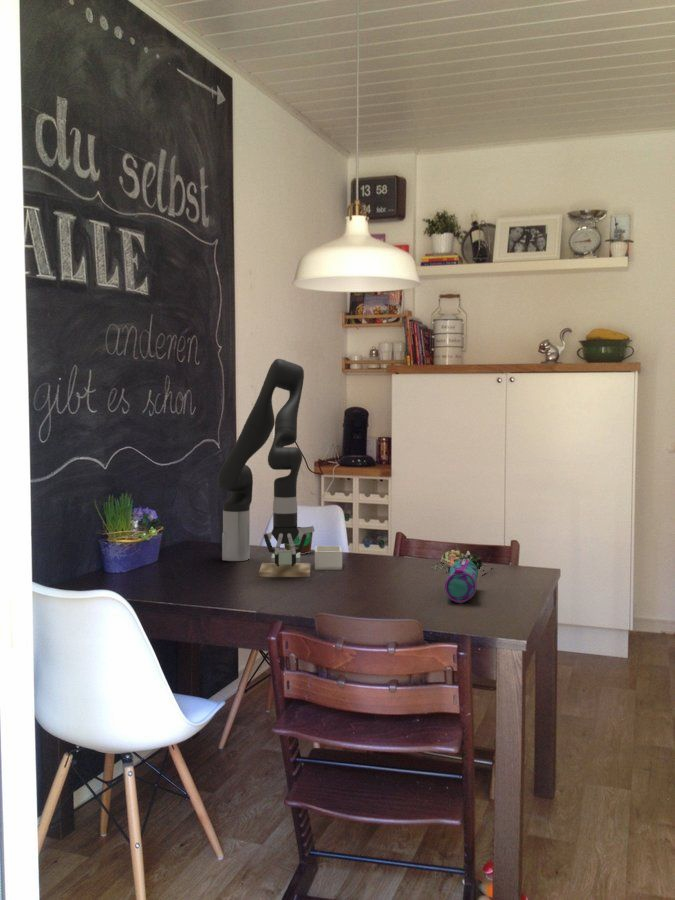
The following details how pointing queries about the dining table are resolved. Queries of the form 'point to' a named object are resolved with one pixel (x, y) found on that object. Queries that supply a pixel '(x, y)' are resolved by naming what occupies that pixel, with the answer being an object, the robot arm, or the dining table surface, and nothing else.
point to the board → (284, 570)
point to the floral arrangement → (458, 558)
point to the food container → (308, 540)
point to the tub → (328, 558)
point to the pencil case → (461, 581)
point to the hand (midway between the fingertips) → (285, 565)
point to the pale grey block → (285, 557)
